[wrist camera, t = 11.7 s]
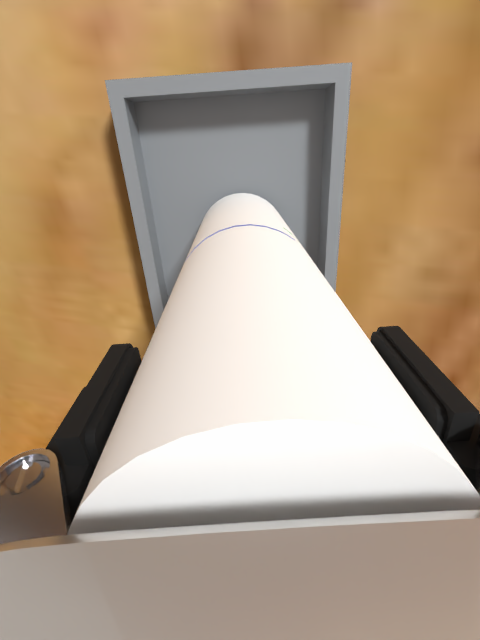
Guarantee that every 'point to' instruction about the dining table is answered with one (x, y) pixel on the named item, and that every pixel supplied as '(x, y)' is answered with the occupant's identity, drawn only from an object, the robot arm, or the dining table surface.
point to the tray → (231, 157)
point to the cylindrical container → (263, 400)
